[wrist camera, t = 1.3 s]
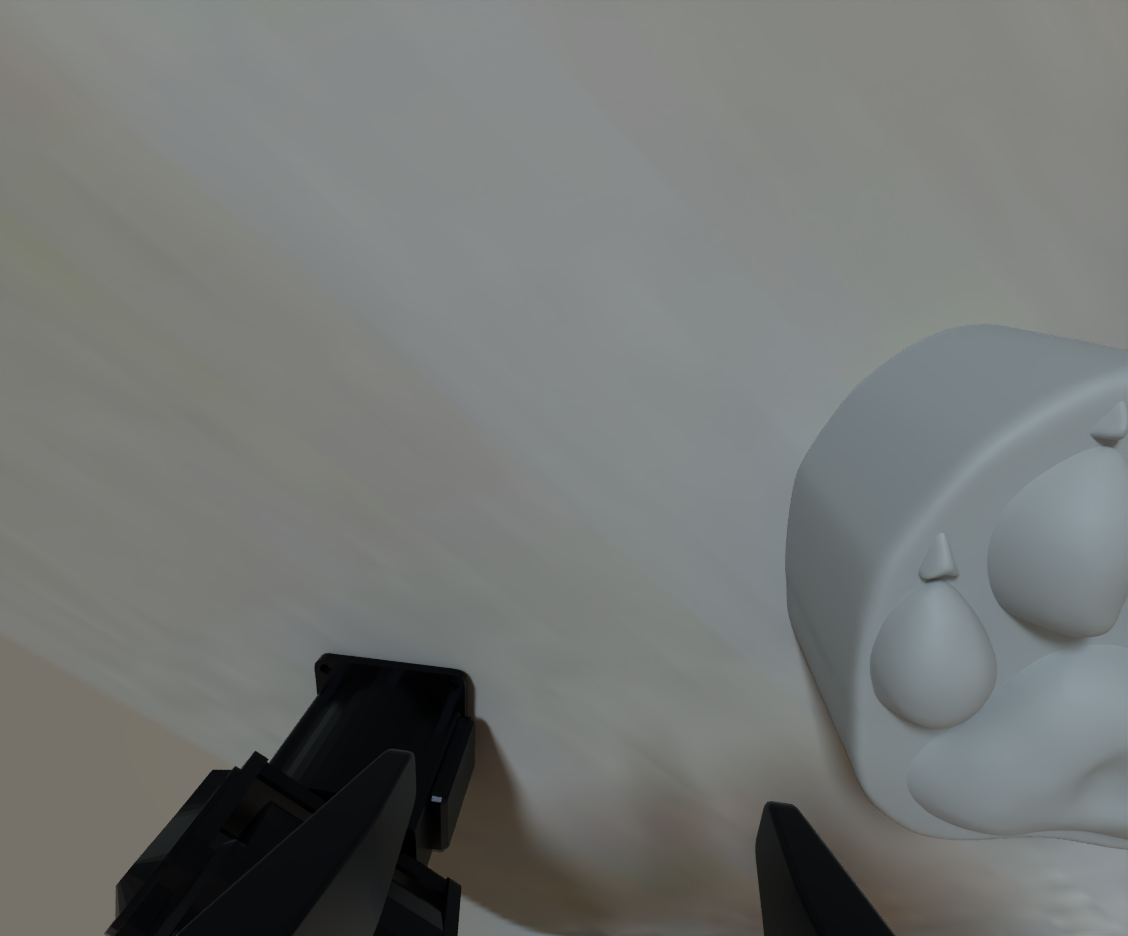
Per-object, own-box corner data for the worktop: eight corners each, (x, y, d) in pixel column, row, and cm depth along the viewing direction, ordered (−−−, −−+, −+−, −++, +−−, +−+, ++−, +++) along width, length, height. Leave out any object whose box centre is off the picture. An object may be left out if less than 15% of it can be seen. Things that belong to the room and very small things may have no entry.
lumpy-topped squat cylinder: (777, 669, 23) (854, 892, 15) (800, 333, 19) (925, 391, 11) (1067, 674, 22) (1325, 922, 14) (1164, 314, 17) (1623, 365, 9)
